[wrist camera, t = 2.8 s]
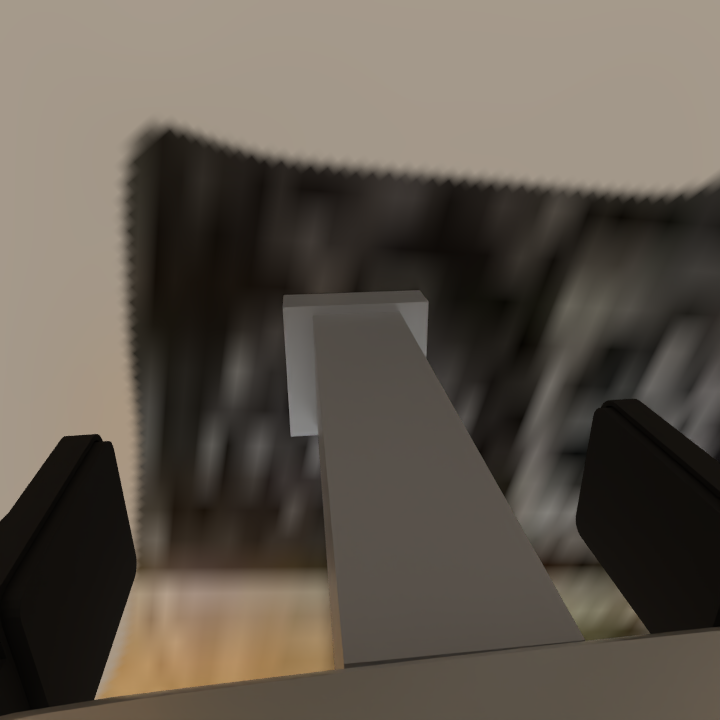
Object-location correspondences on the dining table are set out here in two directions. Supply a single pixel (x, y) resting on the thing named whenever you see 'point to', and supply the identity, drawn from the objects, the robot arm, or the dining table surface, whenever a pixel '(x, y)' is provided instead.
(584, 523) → the robot arm
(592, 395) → the dining table surface
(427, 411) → the grey parking meter
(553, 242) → the dining table surface
